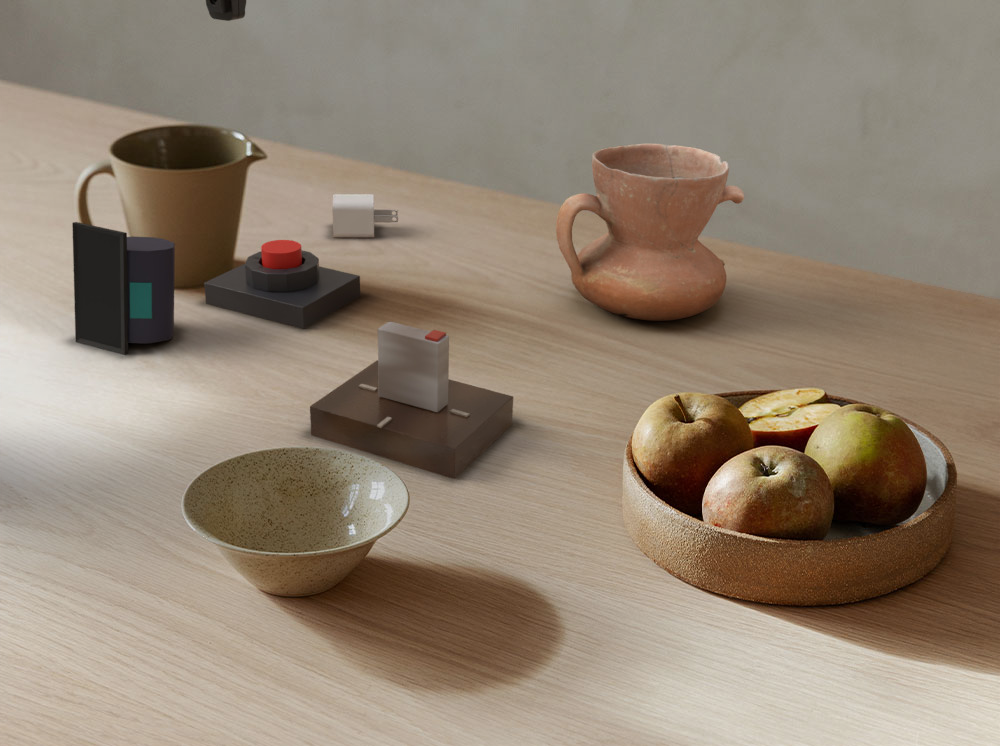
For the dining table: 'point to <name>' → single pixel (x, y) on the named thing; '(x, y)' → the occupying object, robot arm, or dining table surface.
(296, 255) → the power button
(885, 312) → the dining table surface
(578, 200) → the ceramic jug
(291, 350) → the dining table surface
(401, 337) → the block
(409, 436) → the brown base plate
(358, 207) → the usb wall charger
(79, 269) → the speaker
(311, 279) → the switch block
